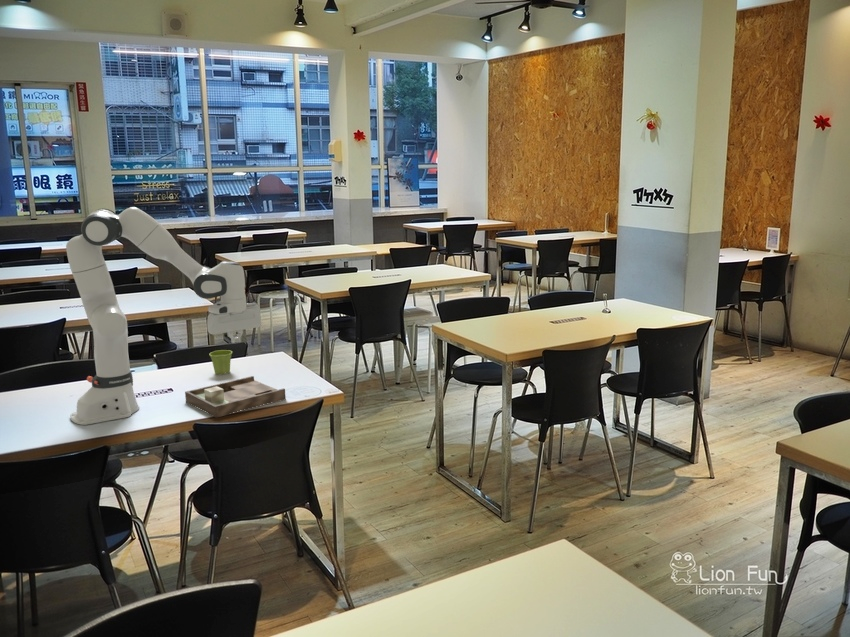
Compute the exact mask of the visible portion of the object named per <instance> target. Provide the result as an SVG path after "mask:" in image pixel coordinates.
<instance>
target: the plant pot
mask: <svg viewBox="0 0 850 637" xmlns="http://www.w3.org/2000/svg"><path fill="white" fill-rule="evenodd" d="M232 355H233V351H232V350H229V349H228V350H227V349H220V350H214V351H212V352H210V353H209V357H210V359H211V362H212V366H213V371H214V374H216V375H225V374H229V373H230V372H231V360H232Z"/></svg>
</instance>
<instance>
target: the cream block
mask: <svg viewBox="0 0 850 637" xmlns="http://www.w3.org/2000/svg"><path fill="white" fill-rule="evenodd" d="M204 393H205V400H207V401H209V402H211V403H213V402H217V401H221V400H224V391H223V389H222V388H220V387H217V386H216V387H212V388H207V389H204Z"/></svg>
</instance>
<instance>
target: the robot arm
mask: <svg viewBox="0 0 850 637" xmlns="http://www.w3.org/2000/svg"><path fill="white" fill-rule="evenodd" d="M80 231H81V232H80V233H81V234H80V235H76V236H73V237H72V238H71V239H69V240H68V241H67V243H66V244H65V245H66V246H65V249H66V256H67V260H68V264H69V267H70V270H71V274H72V277H73V280H74V282H75V285H76V288H77V291H78V293H79V297H80V298H81V299H80V300H81V302H82V306H83V308H84V311H85V314H86V317H87V320H88V324H89V325H90V327H91V328H92V335H93V346H94V347H93V355H94V356H93V357H94V364H95V365H94V366H95V372H96V374H95V375H94V377H93V376H92V375H91V376H90V375H88V376H87V377H86V381H87V382H88V383H90V384H91V387H90V388H89V389H88V390H87V391H86V392H84V393H83V394H82V395H80V397H79V398H78V400H77V402H76V411H74V412H72V413H71V414H70V418H69V419H70V420H71V422H73V423H75V424H78V425H81V426H84V425H85V426H86V425H87V426H88V425H92V424H98V423H103V422H109V421H113V420H119V419H125V418H129V417H131V416H132V415H131V414H134V413H136V412H137V411H139V410H140V406H139V404H138V401H137V398H136V396H135V392H134V387H133V386H134V383H133V382H134V378H133V373H132V370H131V368H130V367H131V366H130V358H129V335H128V334H129V331H128V319H127V316H126V314H125V313H124V312H123V311H122V309H121V308H120V305H119V303H118V299H117V296H116V291H115V287H114V284H113V280H112V277H111V275H110V271H109V270H108V266H107V263H106V261H105V258H104V255H103V250H102V249H103V246H107V245H109V244H111V243H113V242H115V241H116V240H118V239H120V238H121V237H122V238H125V239H126V240H129V241H130V242H131V243H132V244H133V245H135V246H136V247H137V248H138V249H140V250H141V251H142V252H144V253H145V254H146V255H147V256H150V257H152V259H153V258H154V259H158V260H162V261H165V262H168V263H170V264H172V265H173V266H174V267H175V268H176V269H178V270H179V271H180V272H181V273H182V274H184V275H185V276H186V277H187V278H188V279H189V280H190V282H191V284H192V286H193V287H192V288H193V291H194V293H195V294H196V295H197V296H198V297H199V298H201V299H203V300H204V299H205V300H210V299H214V298H219V297H220V300H219V301H217V302H216V303H213V304H211V305H209V306H208V309H207V310H208V313H209V314H208V316H207V319H206V320H207V321H206V327H207V328H206V329H207V332H208V333H209V334H210V335H213V336H215V335H219V334H220V335H221V334H227V335H228V336H229V338H230V341H231V343H232V344H238V343H241V340H242V336H243V334H244V330H250V329H254V328H260V327H261V326H262V317H261V313H260V312H261V307H260V305H259V304H258V303H257V302H252V303H249V302H248V303H247V297H246V296H247V295H246V291H245V288H246V287H245V286H246V280H245V279H246V278H245V272H244V268H243V266H242V265H241V264H240V263H239V262H236V261H232V260H221V262H220V263H218V264H217V265H215V266H213V267H212V268H211V267H209V266H205V265H202V264H200V263H199V262H198V261H196V260H195V259H194V258H193V257H192V256H191V255H189V254H188V253H187V252H186V251H184V249H182V247H181V246H180V245H179V244H178V242H177V241H176V240H175V238H174V237H173V235H172V234H171V233H170V232H169V231H168V229H166V228H165V227H164V225H163V224H161V223H160V222H159V221H157V220H156V219H155V218H153V216H151V215H150V214H148V213H146V212H145V211H143V210H142V209H140V208H138V207H136V206H130V207H126V209H124V210H123V211H121V212H120V213H119V214H117V213H116V212H115V211H113V210H111V209H108V208H99V209H95V210H94V211H92V212H90V213H89V214H87V216H86V217H85V218H84V220H82V222H81V226H80ZM235 332H236V333H237V335H236V336H234V334H235Z"/></svg>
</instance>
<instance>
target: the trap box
mask: <svg viewBox="0 0 850 637" xmlns="http://www.w3.org/2000/svg"><path fill="white" fill-rule="evenodd" d="M216 386H217V387H220V388H222V389H223V391H224V400H221V401H217V402H213V403H211V402H209V401H207V400H205V393H204V389H207V388H212V387H216ZM184 394H185V402H186V403H187V404H189V405H191V404H192V405H191V406H193V405H194V406H193V407H195V406H196V407H198V408H200V409H202V410H204V411H206V412H208V413H209V414H208V413H207V414H208V415H210V414H211V415H210V416H212V415H213V416H212V417H213V418H220V417H223V416H228V415H231V414H230V413H232V414H234V413H233V412H236V413H238V412H237V411H240V410H243V411H245V410H244V409H247V410H249V409H248V408H251V409H253V408H252V407H255V408H257V407H256V406H258V407H261V406H260V405H262V406H264V405H263V404H266V405H268V404H267V403H270V404H272V403H271V402H273V403H276V401H277V402H280V400H281V401H283V400H284V399H285V400H286V388H280V389H277V388H274V387H271V386H269V385H267V384H264V383H262V382H259V381H257V380H255V376H254V375H252V376H251V375H250V376H245V377H242V378H237V379H234V380H229V381H226V382H225V381H224V382H221V383H216V384H212V385H209V386H204V387H198V388H195V389H191V390H187V391H184ZM196 407H195V408H196ZM198 408H197V409H198ZM200 409H199V410H200ZM202 410H201V411H202ZM204 411H203V412H204ZM206 412H205V413H206ZM240 412H241V411H240ZM227 414H228V415H227Z"/></svg>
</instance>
